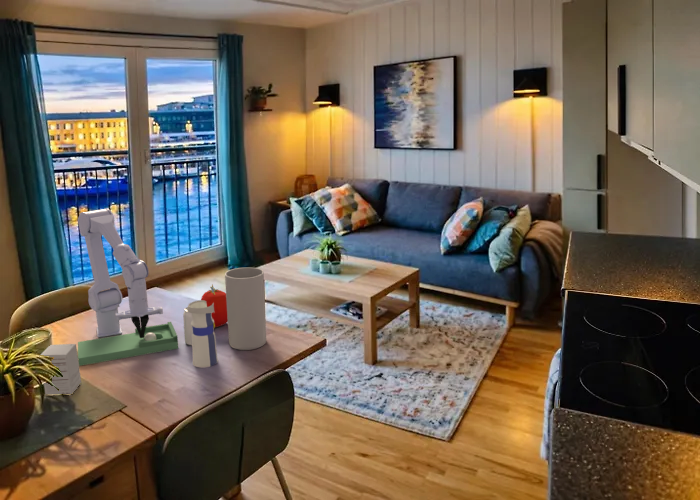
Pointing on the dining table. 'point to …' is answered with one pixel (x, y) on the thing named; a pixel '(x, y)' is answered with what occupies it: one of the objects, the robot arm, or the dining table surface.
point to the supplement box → (64, 368)
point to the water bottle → (203, 333)
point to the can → (188, 326)
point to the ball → (150, 337)
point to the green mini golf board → (127, 345)
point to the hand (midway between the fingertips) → (141, 336)
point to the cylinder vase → (245, 308)
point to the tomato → (217, 306)
